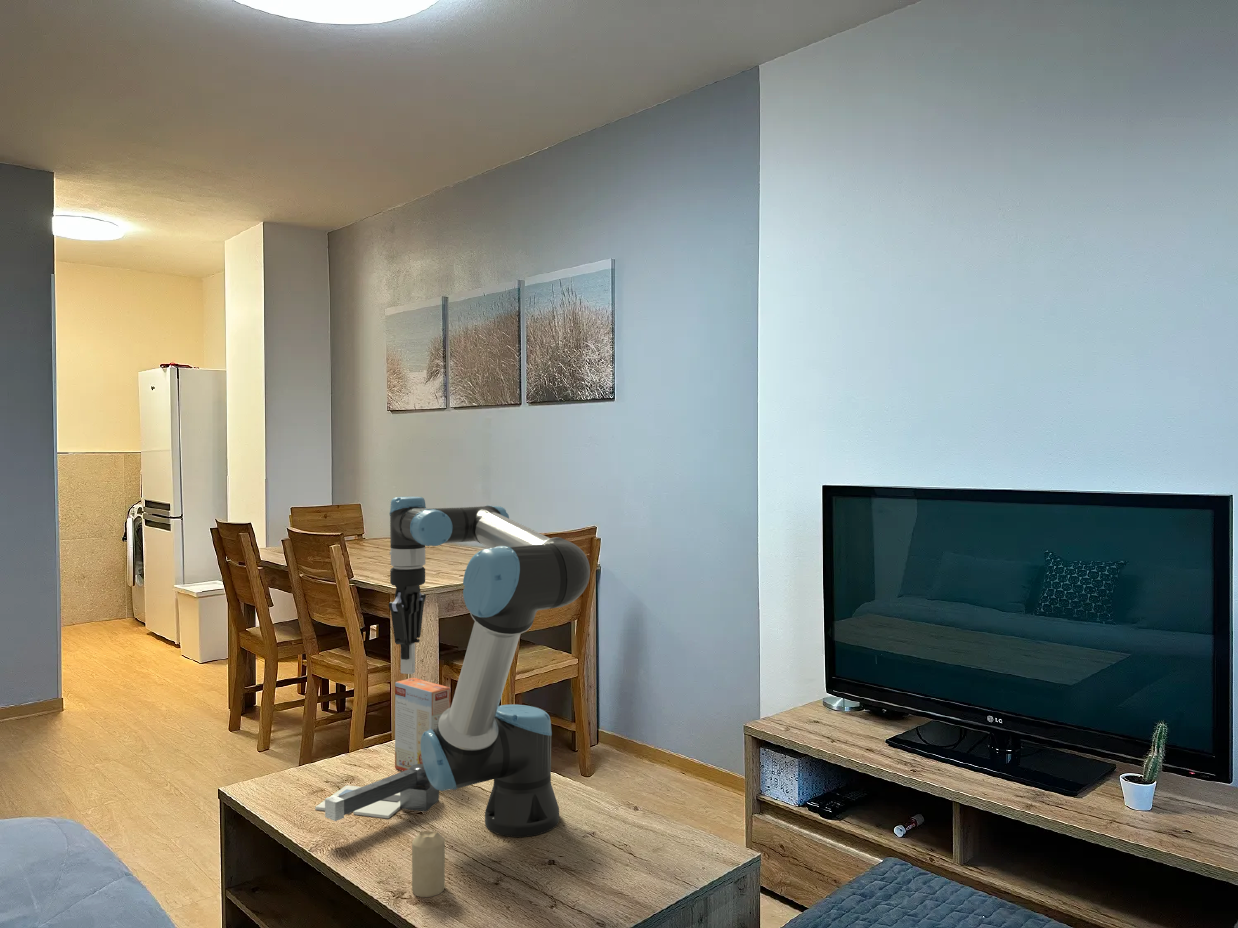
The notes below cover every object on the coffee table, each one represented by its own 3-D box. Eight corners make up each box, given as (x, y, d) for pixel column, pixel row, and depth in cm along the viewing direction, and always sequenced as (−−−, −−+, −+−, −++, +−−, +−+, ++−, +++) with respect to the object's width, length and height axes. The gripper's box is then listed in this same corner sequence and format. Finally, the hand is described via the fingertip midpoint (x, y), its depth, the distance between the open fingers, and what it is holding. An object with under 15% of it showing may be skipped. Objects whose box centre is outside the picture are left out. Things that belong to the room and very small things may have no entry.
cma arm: (420, 777, 190) (420, 760, 190) (434, 781, 188) (434, 765, 188) (323, 816, 170) (323, 797, 170) (337, 821, 168) (337, 803, 168)
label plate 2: (415, 795, 192) (415, 792, 192) (388, 818, 180) (388, 814, 180) (382, 791, 194) (382, 788, 194) (353, 814, 182) (353, 810, 182)
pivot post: (438, 800, 190) (438, 779, 189) (426, 811, 184) (426, 790, 184) (413, 797, 191) (413, 777, 191) (400, 808, 185) (400, 787, 185)
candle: (446, 881, 155) (447, 825, 155) (441, 897, 149) (441, 839, 149) (415, 881, 155) (415, 825, 154) (409, 897, 149) (409, 839, 149)
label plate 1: (378, 791, 194) (378, 787, 194) (349, 813, 183) (349, 809, 183) (346, 787, 196) (346, 784, 196) (315, 809, 185) (315, 805, 185)
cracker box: (451, 775, 204) (451, 686, 203) (430, 783, 199) (430, 692, 199) (414, 761, 213) (414, 675, 212) (393, 768, 208) (393, 680, 208)
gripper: (406, 562, 201) (406, 664, 201) (377, 569, 188) (377, 679, 189) (436, 563, 199) (436, 666, 199) (409, 571, 186) (409, 681, 187)
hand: (407, 672), depth 194 cm, fingers closed
